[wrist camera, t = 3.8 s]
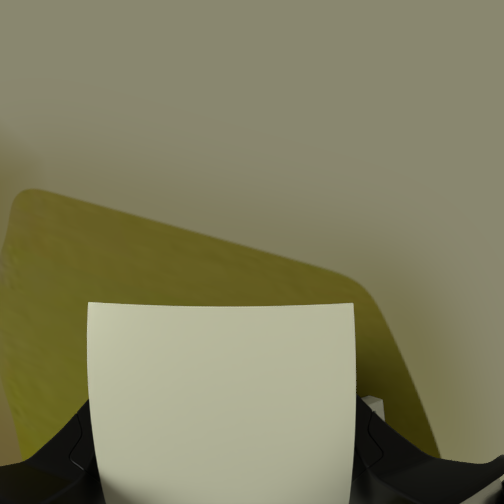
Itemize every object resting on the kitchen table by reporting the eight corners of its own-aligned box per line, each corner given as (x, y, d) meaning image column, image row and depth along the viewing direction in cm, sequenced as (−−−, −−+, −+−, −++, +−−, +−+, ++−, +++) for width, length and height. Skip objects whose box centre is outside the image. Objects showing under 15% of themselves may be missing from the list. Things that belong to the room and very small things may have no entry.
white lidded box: (271, 414, 17) (346, 522, 5) (179, 414, 16) (111, 523, 4) (269, 326, 18) (353, 302, 6) (177, 326, 18) (88, 302, 6)
